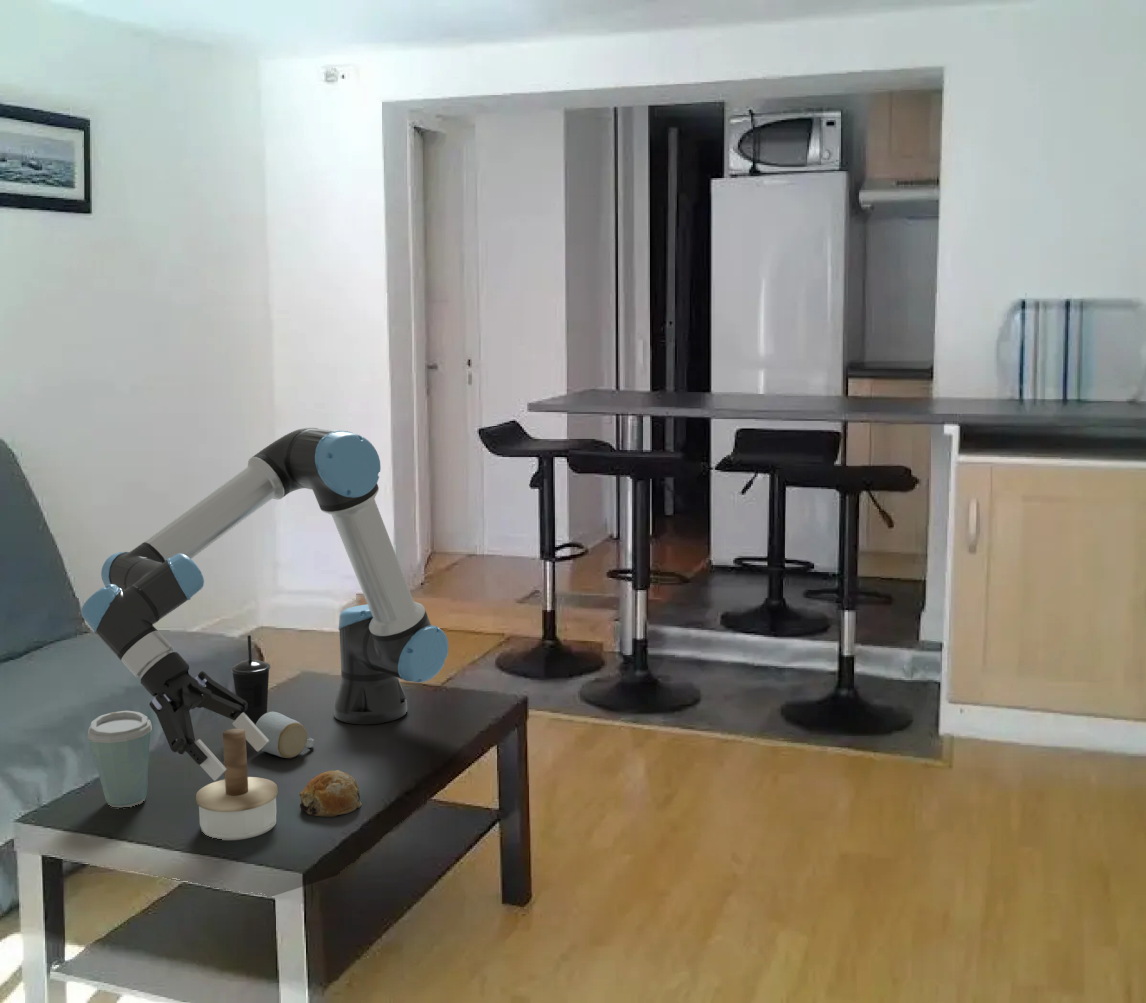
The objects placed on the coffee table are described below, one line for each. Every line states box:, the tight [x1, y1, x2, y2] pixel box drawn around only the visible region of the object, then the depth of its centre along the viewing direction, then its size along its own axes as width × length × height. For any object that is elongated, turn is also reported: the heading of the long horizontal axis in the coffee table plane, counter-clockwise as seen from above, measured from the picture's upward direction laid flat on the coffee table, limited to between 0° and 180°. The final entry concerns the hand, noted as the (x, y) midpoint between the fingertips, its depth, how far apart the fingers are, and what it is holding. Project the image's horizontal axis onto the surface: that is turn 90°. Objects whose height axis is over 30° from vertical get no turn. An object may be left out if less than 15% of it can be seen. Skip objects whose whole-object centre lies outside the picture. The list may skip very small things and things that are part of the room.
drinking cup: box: [230, 635, 271, 725], centre depth 254 cm, size 8×8×20 cm
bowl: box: [198, 797, 277, 841], centre depth 210 cm, size 12×12×5 cm
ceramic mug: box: [256, 711, 315, 759], centre depth 244 cm, size 11×8×8 cm
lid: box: [195, 728, 279, 812], centre depth 209 cm, size 13×13×11 cm
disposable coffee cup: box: [86, 710, 153, 808], centre depth 219 cm, size 11×11×15 cm
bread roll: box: [299, 769, 362, 818], centre depth 217 cm, size 10×10×8 cm
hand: (242, 760), depth 208 cm, fingers open, 13 cm apart
